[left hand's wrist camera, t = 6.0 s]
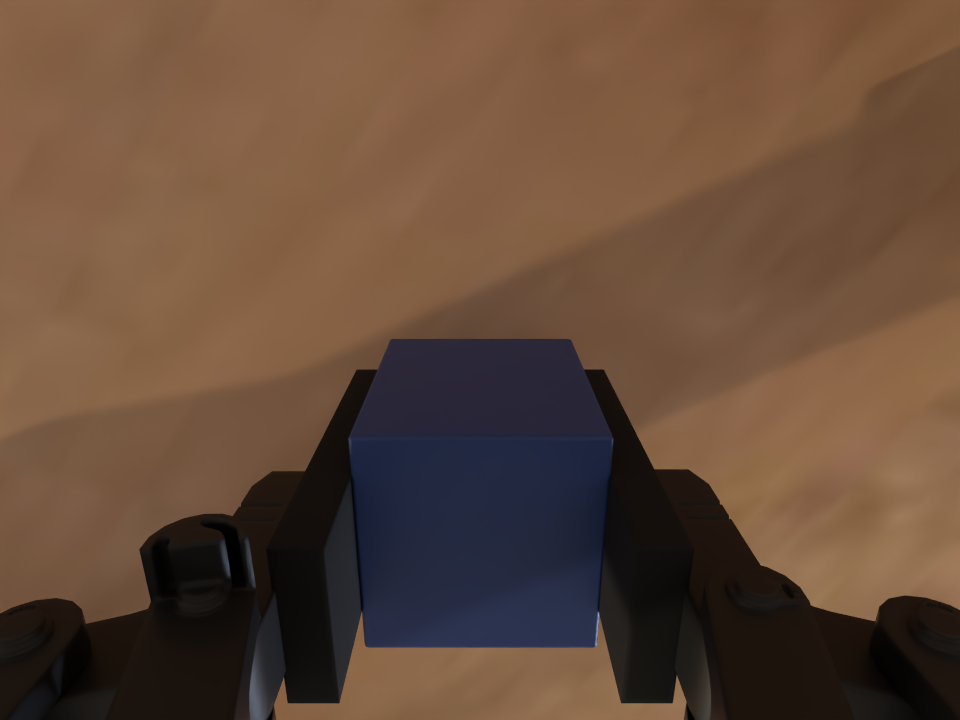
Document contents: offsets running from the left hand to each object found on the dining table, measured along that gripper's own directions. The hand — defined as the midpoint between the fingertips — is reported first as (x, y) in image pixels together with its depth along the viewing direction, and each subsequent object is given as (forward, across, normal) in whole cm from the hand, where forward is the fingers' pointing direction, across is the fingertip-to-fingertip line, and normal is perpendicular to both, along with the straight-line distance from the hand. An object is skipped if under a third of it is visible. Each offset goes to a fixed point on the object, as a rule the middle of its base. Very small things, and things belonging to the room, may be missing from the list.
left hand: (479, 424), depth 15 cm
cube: (0, 0, 0) cm, 0 cm away
